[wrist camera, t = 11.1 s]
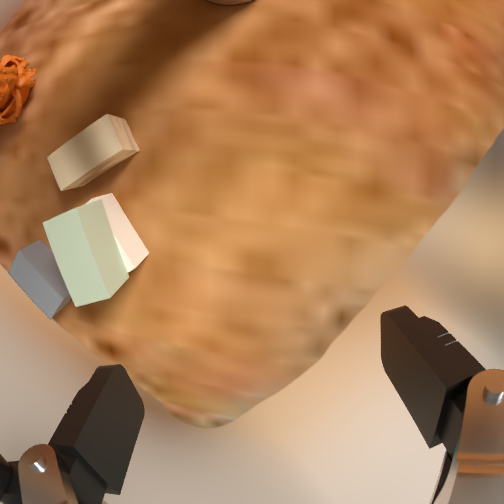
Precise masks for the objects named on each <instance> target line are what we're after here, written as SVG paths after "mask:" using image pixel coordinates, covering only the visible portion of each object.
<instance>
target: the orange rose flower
mask: <svg viewBox="0 0 504 504" xmlns="http://www.w3.org/2000/svg"><path fill="white" fill-rule="evenodd" d="M27 65H29V62H26V59H25V58H18V57H16V56H13V57H11V56H10V55H5V56H4V57H2V59H1V61H0V125H2V124H6V123H8V122H11V123H13V122H17V121H16V117H18V116H19V115H20V113H21V110H22V106H23V104H24V103H25V101H26V99H27V97H28V95H29V92H30V88H31V87H34V85H35V82H36V81H34V83H33V81H32V79H31V78H32V77H31V76H33V75H35V72H36V69H32V68H30V69H25V68H26V66H27ZM13 112H14V113H13ZM8 113H11V114H8ZM4 118H6V119H4ZM14 118H15V119H14Z"/></svg>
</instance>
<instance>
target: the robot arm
mask: <svg viewBox="0 0 504 504" xmlns="http://www.w3.org/2000/svg"><path fill="white" fill-rule="evenodd" d="M207 1H210V2H213V3H217V4H223V5H235V4H242V3H246V2H250V1H252V0H207ZM381 359H382V363H383V367H384V369H385V372H386V374H387V375H388V377H389V379H390V380H391V382H392V384H393V385H394V387H395V389H396V391H397V392H398V394H399V396H400V397H401V399H402V401H403V402H404V404H405V406H406V407H407V409H408V411H409V413H410V414H411V416H412V418H413V420H414V421H415V423H416V425H417V427H418V428H419V430H420V432H421V434H422V436H423V437H424V439H425V441H426V443H427V445H428V447H429V448H432V447H434V446H436V445H438V444H441V443H443V444H444V446H445V447H446V449H447V450H446V452H445V455H444V459H443V463H442V467H441V470H440V473H439V477H438V480H437V483H436V486H435V489H434V492H433V495H432V499H431V501H430V504H504V370H500V369H489V370H486V369H485V368H484V367H483V366H482V365H481V364H480V363H479V362H478V361H477V360H476V359H475V358H474V357H473V356H472V355H471V354H470V353H469V352H468V351H467V350H466V349H465V348H464V347H463V346H462V345H461V344H460V343H459V342H457V341H456V339H455V338H454V337H453V336H452V335H451V334H449V333H448V331H447V330H446V329H445V328H444V327H443V326H442V325H441V324H440V323H439V322H437V321H434V320H432V319H430V318H428V317H425V316H423V317H420V318H418V317H417V316H416V315H415V314H414V313H413V312H412V311H411V310H410V309H409V308H408V307H407V306H402V307H398V308H395V309H392V310H389V311H385V312H383V313H382V314H381ZM143 418H144V405H143V402H142V399H141V397H140V395H139V394H138V392H137V390H136V388H135V387H134V385H133V383H132V381H131V379H130V377H129V376H128V374H127V372H126V370H125V368H124V367H123V366H122V365H120V364H117V365H107V366H99V367H98V368H97V369H96V371H95V372H94V374H93V375H92V377H91V379H90V380H89V382H88V383H87V384H86V385H85V386H84V387H82V388H81V389H80V390H79V391H78V393H77V394H76V396H75V398H74V399H73V401H72V405H70V406H69V408H68V410H67V413H65V415H64V417H63V418H62V420H61V422H60V424H59V425H58V427H57V429H56V431H55V433H54V434H53V436H52V438H51V440H50V442H49V444H48V445H46V444H39V445H35V446H33V447H31V448H29V449H28V450H27V451H25V453H24V454H23V455H22V456H21V458H20V460H19V461H14V462H13V461H12V462H7V461H6V460H5V459H4V458H3V457H2V456H1V454H0V501H1V502H2V503H3V504H107V503H106V501H105V500H104V499H103V497H104V494H105V493H110V494H117V495H120V493H121V489H122V486H123V482H124V479H125V476H126V472H127V469H128V466H129V462H130V459H131V456H132V452H133V449H134V446H135V443H136V440H137V437H138V433H139V430H140V427H141V424H142V421H143Z"/></svg>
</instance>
